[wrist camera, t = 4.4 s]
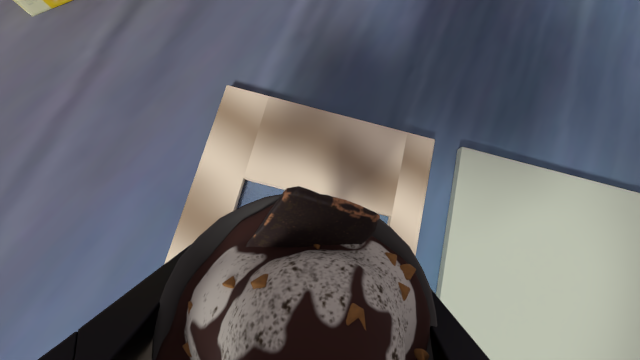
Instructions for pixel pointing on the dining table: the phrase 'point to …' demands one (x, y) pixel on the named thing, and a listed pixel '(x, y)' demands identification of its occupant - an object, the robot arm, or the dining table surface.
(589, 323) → the stub pad
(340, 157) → the wooden picture frame
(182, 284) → the sundae
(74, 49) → the dining table surface
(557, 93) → the dining table surface
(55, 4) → the candy box
